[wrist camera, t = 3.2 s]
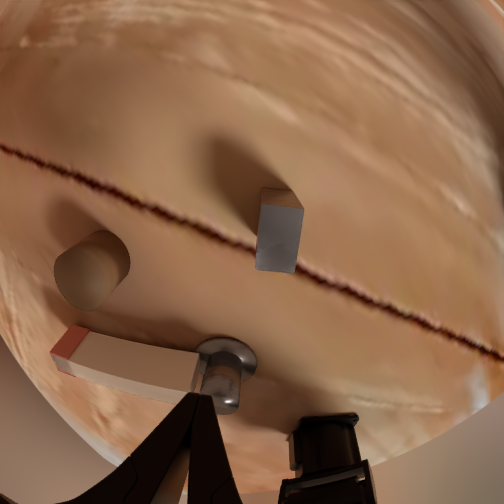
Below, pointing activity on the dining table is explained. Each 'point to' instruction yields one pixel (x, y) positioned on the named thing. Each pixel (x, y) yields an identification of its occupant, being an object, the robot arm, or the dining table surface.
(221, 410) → the flanged metal peg
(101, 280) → the cylinder
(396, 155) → the dining table surface
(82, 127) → the dining table surface
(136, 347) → the white rectangular bar
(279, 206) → the block
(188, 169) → the dining table surface
